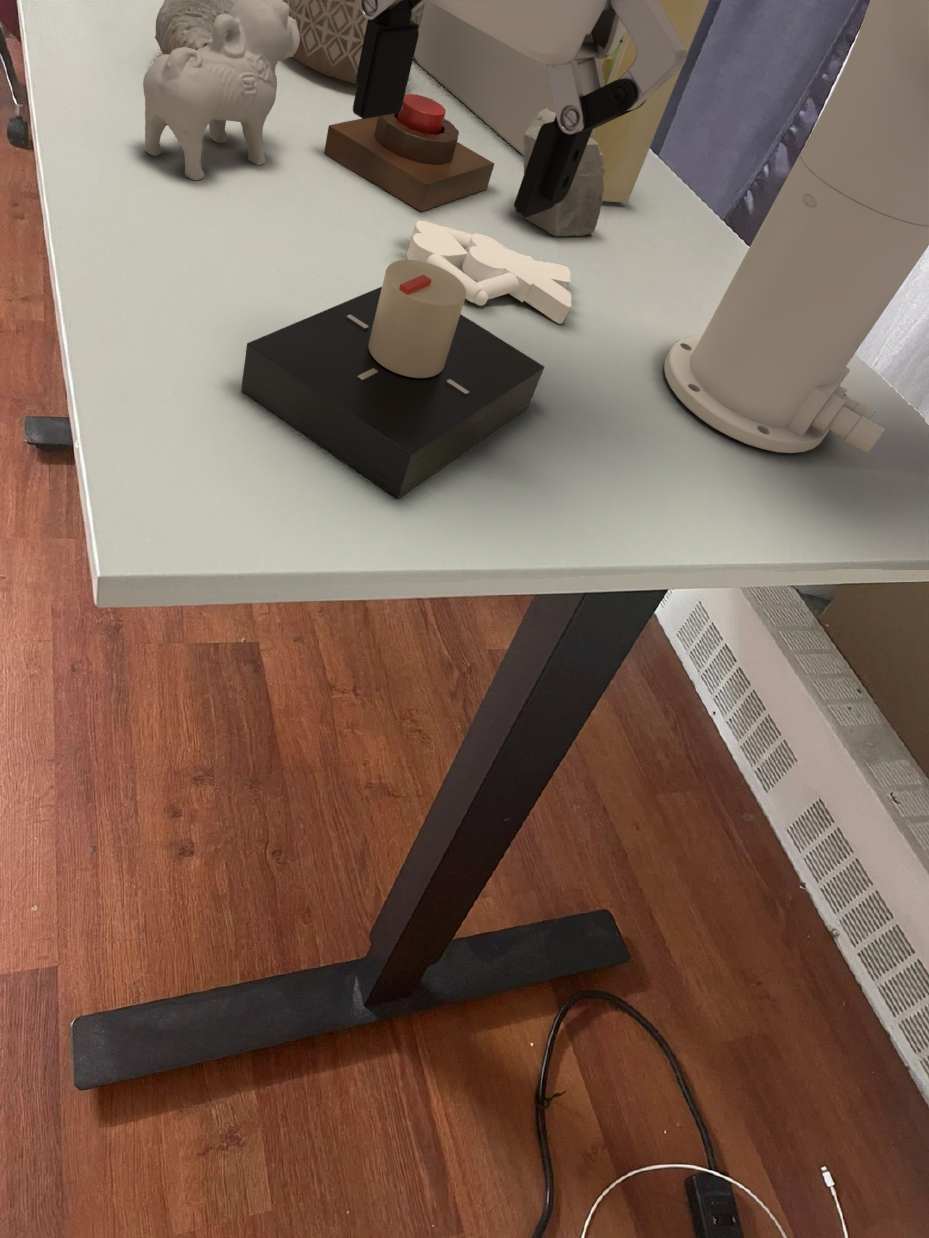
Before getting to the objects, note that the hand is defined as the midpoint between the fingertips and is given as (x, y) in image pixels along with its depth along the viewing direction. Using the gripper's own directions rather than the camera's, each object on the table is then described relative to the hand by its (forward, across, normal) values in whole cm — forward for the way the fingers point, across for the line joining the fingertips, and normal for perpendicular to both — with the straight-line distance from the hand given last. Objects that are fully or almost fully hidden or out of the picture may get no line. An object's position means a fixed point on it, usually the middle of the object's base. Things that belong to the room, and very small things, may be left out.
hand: (453, 160), depth 43 cm
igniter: (+13, +18, -27) cm, 35 cm away
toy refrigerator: (+13, +11, -43) cm, 46 cm away
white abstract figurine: (+14, +4, -18) cm, 23 cm away
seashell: (+14, +38, -23) cm, 47 cm away
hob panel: (+14, -1, 0) cm, 14 cm away
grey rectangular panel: (+13, +23, -48) cm, 55 cm away
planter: (+14, +36, -39) cm, 54 cm away
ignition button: (+10, +19, -27) cm, 34 cm away
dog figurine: (+14, +26, -13) cm, 32 cm away
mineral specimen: (+13, +8, -32) cm, 35 cm away
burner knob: (+11, -1, 0) cm, 11 cm away
